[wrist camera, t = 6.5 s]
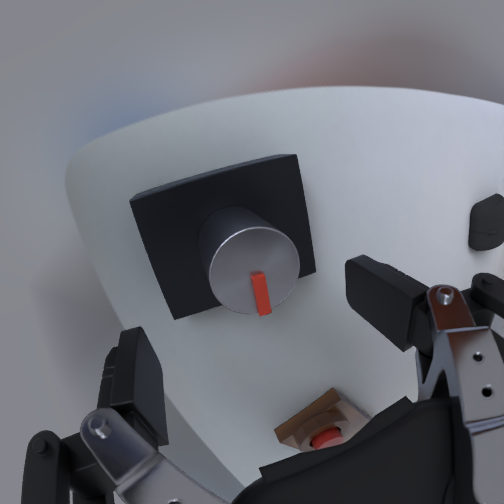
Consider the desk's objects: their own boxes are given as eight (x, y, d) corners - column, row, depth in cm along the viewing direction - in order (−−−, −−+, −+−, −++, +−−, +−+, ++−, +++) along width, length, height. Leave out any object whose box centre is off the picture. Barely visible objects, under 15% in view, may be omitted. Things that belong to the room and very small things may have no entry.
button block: (270, 428, 28) (281, 452, 24) (329, 385, 28) (346, 408, 24) (327, 449, 35) (337, 466, 31) (371, 417, 35) (383, 433, 31)
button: (305, 440, 25) (311, 451, 24) (330, 423, 25) (337, 434, 24) (318, 445, 27) (324, 455, 25) (342, 429, 27) (348, 439, 25)
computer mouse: (469, 206, 26) (493, 214, 22) (499, 192, 28) (518, 197, 24) (466, 251, 29) (488, 261, 25) (496, 229, 30) (515, 236, 27)
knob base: (173, 298, 20) (174, 320, 17) (136, 194, 16) (128, 200, 14) (298, 257, 21) (316, 272, 19) (279, 154, 18) (297, 153, 15)
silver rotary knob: (190, 215, 15) (198, 243, 10) (259, 199, 16) (297, 218, 11) (207, 279, 16) (222, 328, 12) (269, 261, 17) (307, 302, 12)
